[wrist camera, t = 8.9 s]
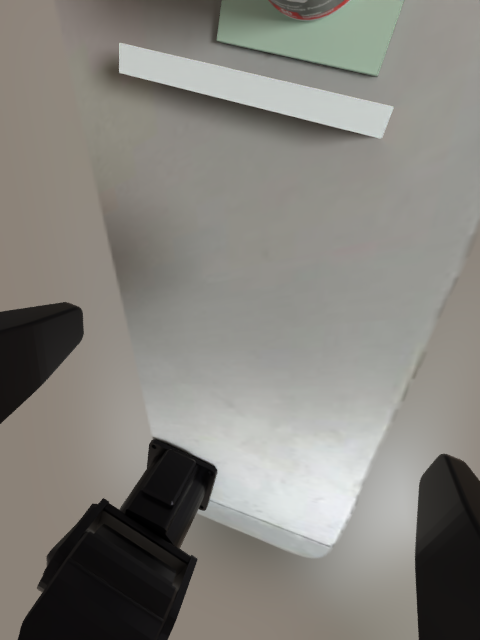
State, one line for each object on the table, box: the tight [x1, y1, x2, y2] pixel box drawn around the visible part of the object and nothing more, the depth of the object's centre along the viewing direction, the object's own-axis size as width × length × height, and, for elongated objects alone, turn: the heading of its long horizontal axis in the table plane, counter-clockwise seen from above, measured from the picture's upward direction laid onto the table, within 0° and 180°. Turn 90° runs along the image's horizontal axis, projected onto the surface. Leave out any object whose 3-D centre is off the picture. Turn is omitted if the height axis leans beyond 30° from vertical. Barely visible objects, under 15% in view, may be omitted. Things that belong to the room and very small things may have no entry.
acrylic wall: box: [119, 43, 394, 139], centre depth 14 cm, size 1×11×3 cm, turn 79°
